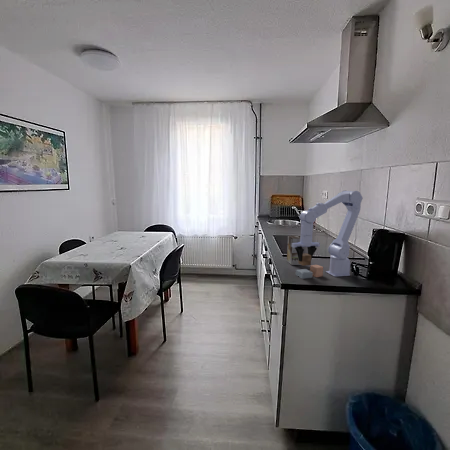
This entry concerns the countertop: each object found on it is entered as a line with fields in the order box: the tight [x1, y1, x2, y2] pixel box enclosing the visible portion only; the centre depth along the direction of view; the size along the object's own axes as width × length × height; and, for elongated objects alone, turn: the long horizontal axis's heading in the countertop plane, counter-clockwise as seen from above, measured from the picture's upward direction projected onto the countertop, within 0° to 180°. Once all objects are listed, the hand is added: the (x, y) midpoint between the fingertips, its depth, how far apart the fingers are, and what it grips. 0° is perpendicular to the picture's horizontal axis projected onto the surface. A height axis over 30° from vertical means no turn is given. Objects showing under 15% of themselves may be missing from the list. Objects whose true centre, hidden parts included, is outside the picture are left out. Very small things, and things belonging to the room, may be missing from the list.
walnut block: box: [298, 252, 312, 267], centre depth 136 cm, size 4×4×5 cm
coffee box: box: [286, 235, 302, 266], centre depth 160 cm, size 9×6×16 cm
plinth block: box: [295, 268, 314, 279], centre depth 137 cm, size 6×6×3 cm
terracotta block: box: [309, 264, 324, 278], centre depth 139 cm, size 4×4×5 cm
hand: (304, 260), depth 136 cm, fingers closed on walnut block, 4 cm apart
